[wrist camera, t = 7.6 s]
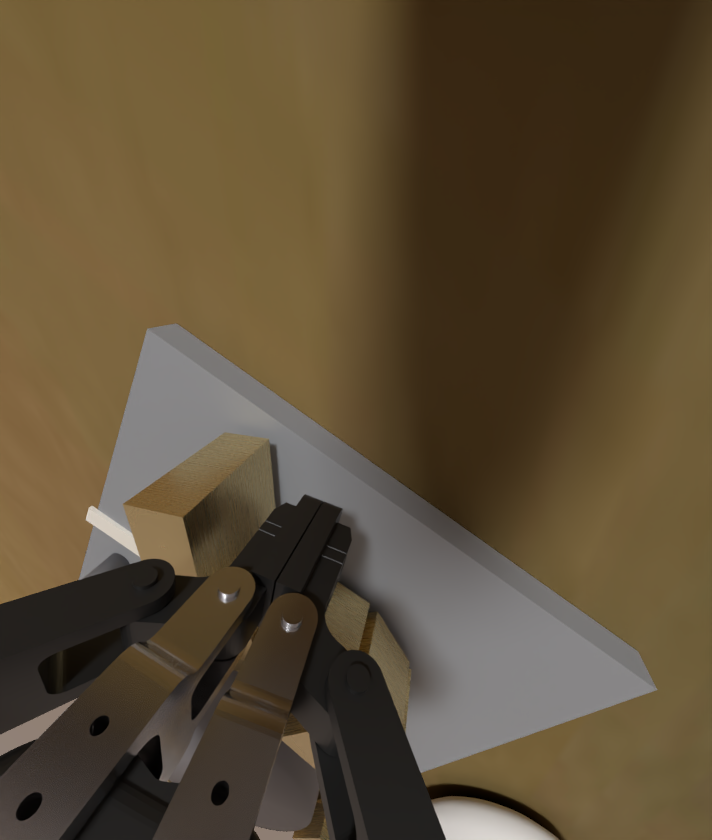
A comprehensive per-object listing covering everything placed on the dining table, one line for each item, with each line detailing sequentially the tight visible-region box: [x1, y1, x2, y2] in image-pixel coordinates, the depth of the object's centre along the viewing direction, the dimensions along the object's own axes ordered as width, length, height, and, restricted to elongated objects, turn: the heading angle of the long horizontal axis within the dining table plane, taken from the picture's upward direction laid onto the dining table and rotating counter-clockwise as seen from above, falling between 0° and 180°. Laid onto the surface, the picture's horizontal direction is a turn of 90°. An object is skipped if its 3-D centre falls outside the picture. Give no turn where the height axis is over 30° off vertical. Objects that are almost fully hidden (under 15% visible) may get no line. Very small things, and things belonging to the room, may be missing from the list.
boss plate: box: [79, 324, 657, 831], centre depth 18 cm, size 26×26×8 cm
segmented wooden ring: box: [123, 432, 412, 840], centre depth 16 cm, size 22×16×5 cm
